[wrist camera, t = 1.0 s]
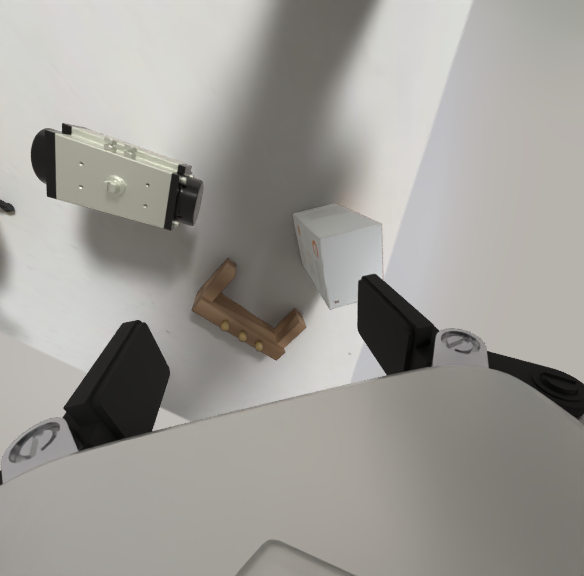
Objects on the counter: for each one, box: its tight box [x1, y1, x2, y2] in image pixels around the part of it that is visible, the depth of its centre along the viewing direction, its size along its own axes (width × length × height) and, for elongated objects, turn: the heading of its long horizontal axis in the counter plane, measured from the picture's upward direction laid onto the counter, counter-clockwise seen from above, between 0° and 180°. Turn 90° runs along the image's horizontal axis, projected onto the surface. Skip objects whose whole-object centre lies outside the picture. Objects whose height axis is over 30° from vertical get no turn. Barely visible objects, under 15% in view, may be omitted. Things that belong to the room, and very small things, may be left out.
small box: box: [292, 203, 383, 310], centre depth 30 cm, size 8×6×13 cm
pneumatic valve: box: [31, 123, 203, 230], centre depth 24 cm, size 6×12×12 cm, turn 70°
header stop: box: [192, 258, 306, 361], centre depth 36 cm, size 7×15×6 cm, turn 46°
